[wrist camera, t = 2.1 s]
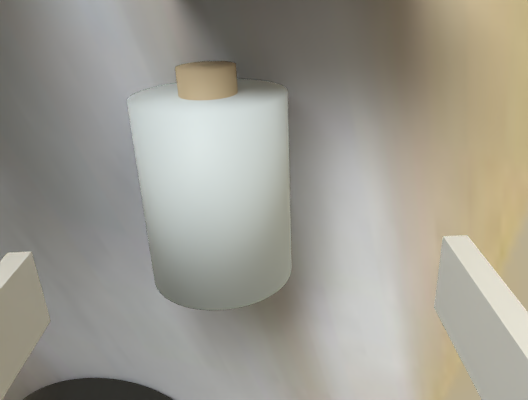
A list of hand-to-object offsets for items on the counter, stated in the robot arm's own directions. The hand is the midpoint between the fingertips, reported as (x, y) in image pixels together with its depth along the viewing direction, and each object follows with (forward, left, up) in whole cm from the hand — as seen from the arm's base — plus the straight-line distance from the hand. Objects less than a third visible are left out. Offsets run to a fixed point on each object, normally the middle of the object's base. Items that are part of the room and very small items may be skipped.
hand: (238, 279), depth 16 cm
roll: (0, 0, -12) cm, 12 cm away
